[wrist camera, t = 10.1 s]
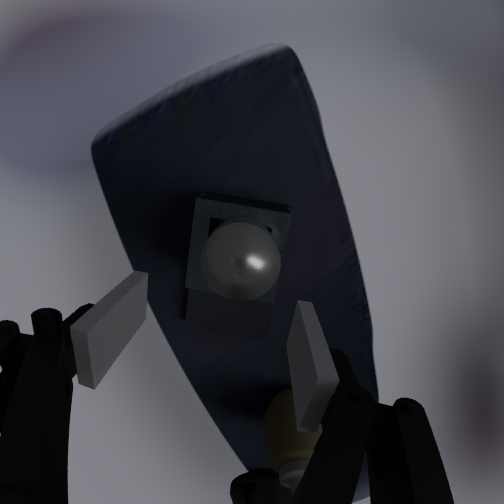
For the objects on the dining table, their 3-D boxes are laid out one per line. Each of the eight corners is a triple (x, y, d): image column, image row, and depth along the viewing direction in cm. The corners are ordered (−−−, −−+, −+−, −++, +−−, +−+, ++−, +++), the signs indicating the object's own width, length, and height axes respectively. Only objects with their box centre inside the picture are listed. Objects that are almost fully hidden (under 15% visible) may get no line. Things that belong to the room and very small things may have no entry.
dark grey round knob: (264, 269, 34) (273, 305, 24) (210, 262, 33) (196, 295, 23) (272, 215, 33) (286, 229, 22) (217, 207, 32) (205, 218, 22)
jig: (265, 334, 37) (266, 367, 30) (187, 320, 37) (172, 350, 30) (292, 207, 33) (300, 215, 26) (203, 191, 33) (188, 196, 26)
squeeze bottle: (268, 422, 41) (269, 520, 24) (259, 385, 40) (257, 493, 22) (320, 414, 41) (339, 511, 23) (317, 376, 39) (341, 481, 22)
